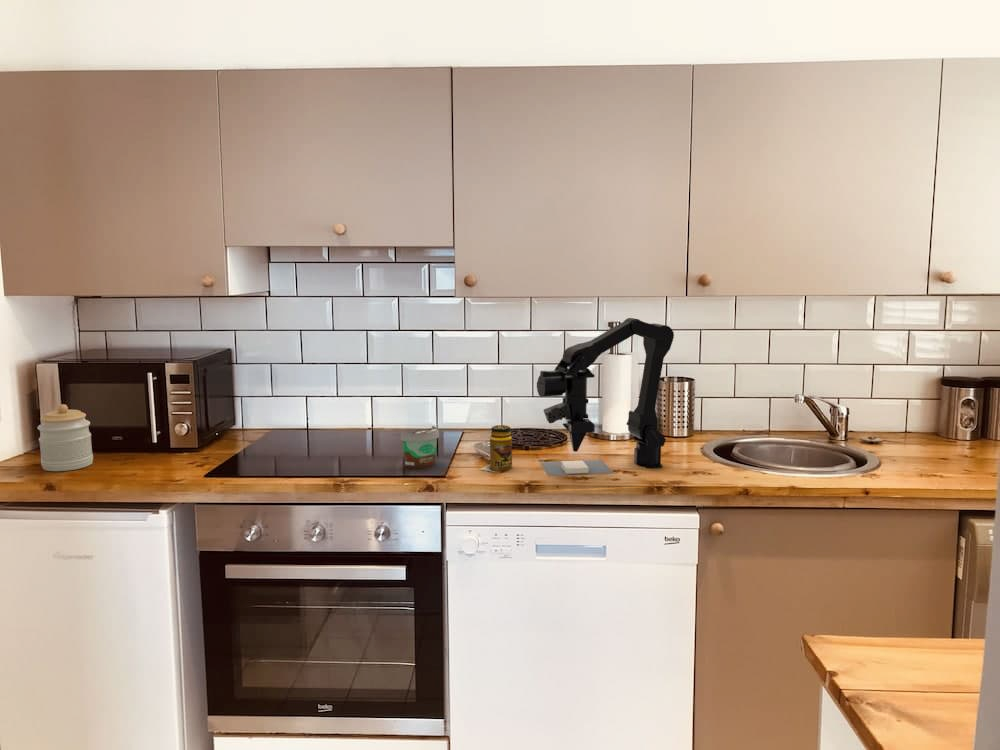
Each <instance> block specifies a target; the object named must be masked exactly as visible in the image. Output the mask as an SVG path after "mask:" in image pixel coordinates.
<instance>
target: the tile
mask: <svg viewBox="0 0 1000 750" xmlns="http://www.w3.org/2000/svg"><path fill="white" fill-rule="evenodd" d="M583 461H584V460H563V461H560V462H561V467H562V469H563V470H564V471H565V473H566V474H583V473H588V466H587V465H586V464H585V463H584V462H583Z"/></svg>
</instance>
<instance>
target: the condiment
mask: <svg viewBox="0 0 1000 750" xmlns="http://www.w3.org/2000/svg"><path fill="white" fill-rule="evenodd" d="M511 431H512V429H511V426H508V425H504V424H501V425H500V424H499V425H494V426H492V427H491V432H490V434H491V435H490V438H489V453H490V454H489V464H487V465H485V466H483V467H482V468H479V470H482V471H486V472H492V473H498V474H502V472H501V471H508V470H510V469H512V467H513V437H512V436H511V435H512V432H511Z"/></svg>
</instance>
